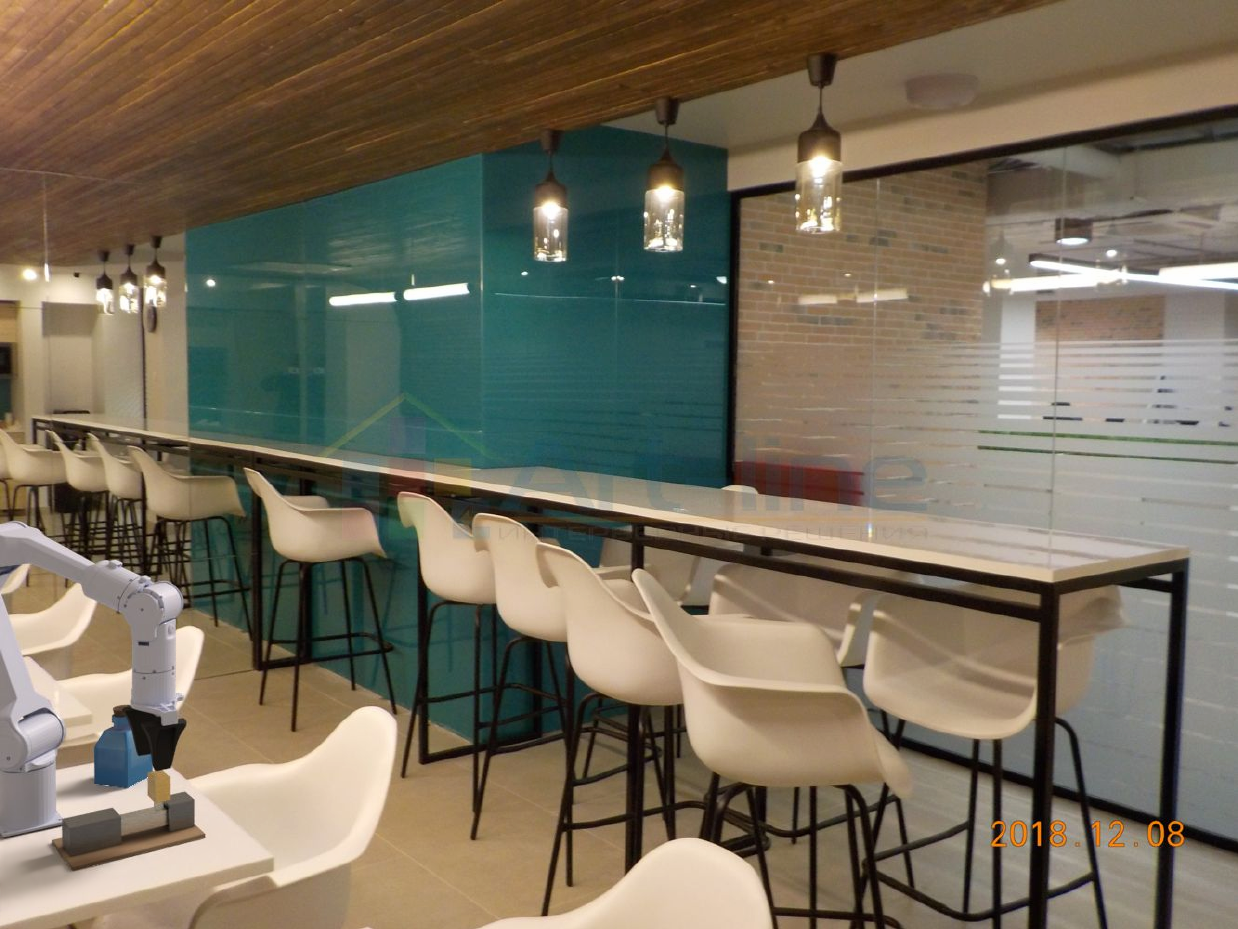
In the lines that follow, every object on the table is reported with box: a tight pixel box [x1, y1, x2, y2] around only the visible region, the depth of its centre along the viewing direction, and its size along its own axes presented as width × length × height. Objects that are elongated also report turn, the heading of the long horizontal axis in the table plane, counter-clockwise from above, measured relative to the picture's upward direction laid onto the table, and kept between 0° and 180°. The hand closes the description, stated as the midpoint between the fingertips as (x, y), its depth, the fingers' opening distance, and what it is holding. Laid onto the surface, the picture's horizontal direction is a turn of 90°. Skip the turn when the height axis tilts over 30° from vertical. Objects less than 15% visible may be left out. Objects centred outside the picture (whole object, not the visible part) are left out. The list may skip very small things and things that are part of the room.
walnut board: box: [51, 824, 206, 872], centre depth 148 cm, size 11×17×1 cm, turn 131°
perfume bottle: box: [93, 704, 154, 789], centre depth 171 cm, size 6×6×12 cm
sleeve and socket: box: [61, 791, 196, 857], centre depth 148 cm, size 4×16×4 cm, turn 131°
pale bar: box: [119, 770, 171, 836], centre depth 149 cm, size 4×10×7 cm, turn 131°
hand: (153, 761), depth 151 cm, fingers open, 7 cm apart
